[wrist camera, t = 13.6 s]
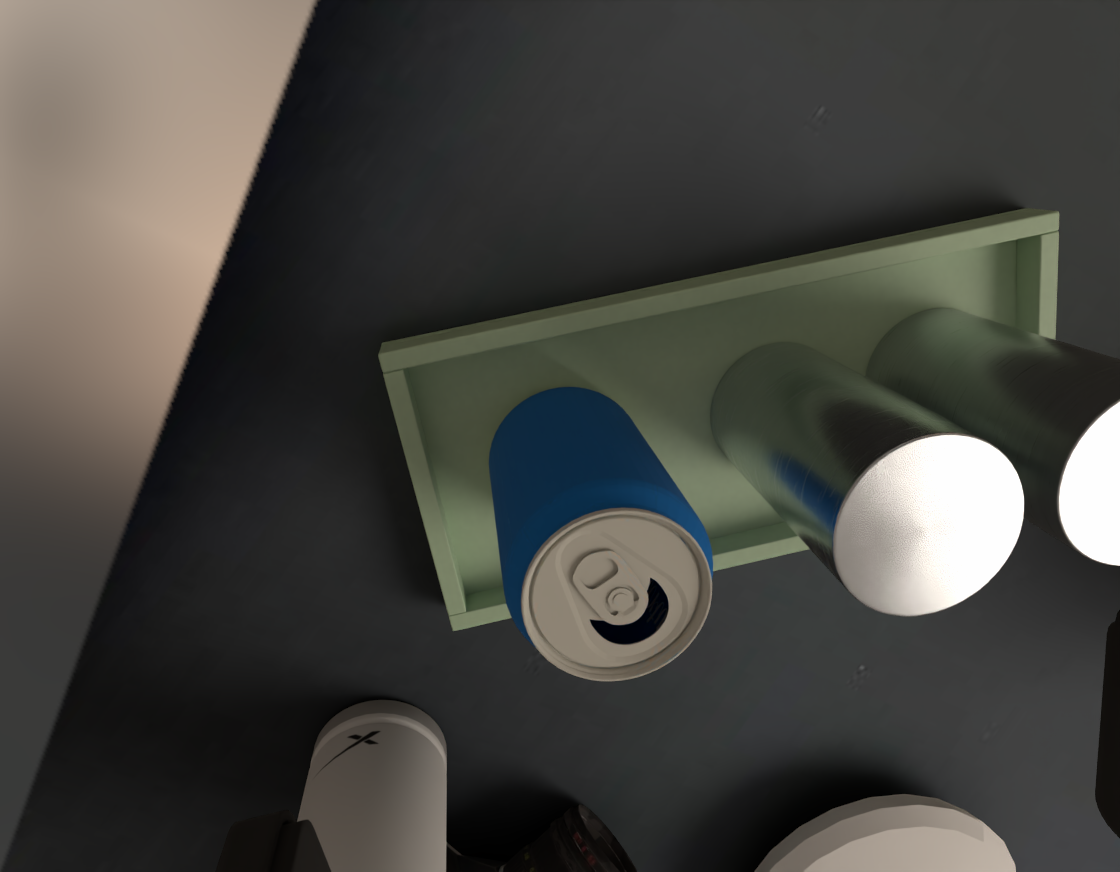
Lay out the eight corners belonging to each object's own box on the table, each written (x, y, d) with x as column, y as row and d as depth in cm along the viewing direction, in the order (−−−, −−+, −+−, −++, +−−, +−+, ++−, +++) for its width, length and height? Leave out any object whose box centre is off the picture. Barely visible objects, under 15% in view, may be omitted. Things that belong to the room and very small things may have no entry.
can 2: (860, 323, 34) (1060, 405, 23) (993, 294, 35) (1254, 361, 23) (867, 452, 36) (1054, 585, 25) (993, 424, 37) (1233, 542, 25)
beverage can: (546, 549, 36) (589, 730, 25) (456, 441, 34) (459, 585, 22) (665, 466, 35) (766, 612, 24) (582, 350, 33) (650, 451, 22)
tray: (381, 342, 32) (377, 354, 31) (1026, 207, 34) (1060, 210, 32) (452, 607, 37) (452, 632, 35) (1021, 477, 38) (1050, 493, 36)
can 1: (701, 357, 34) (826, 458, 23) (837, 328, 34) (1028, 413, 23) (717, 486, 36) (839, 636, 25) (846, 457, 36) (1024, 592, 25)
